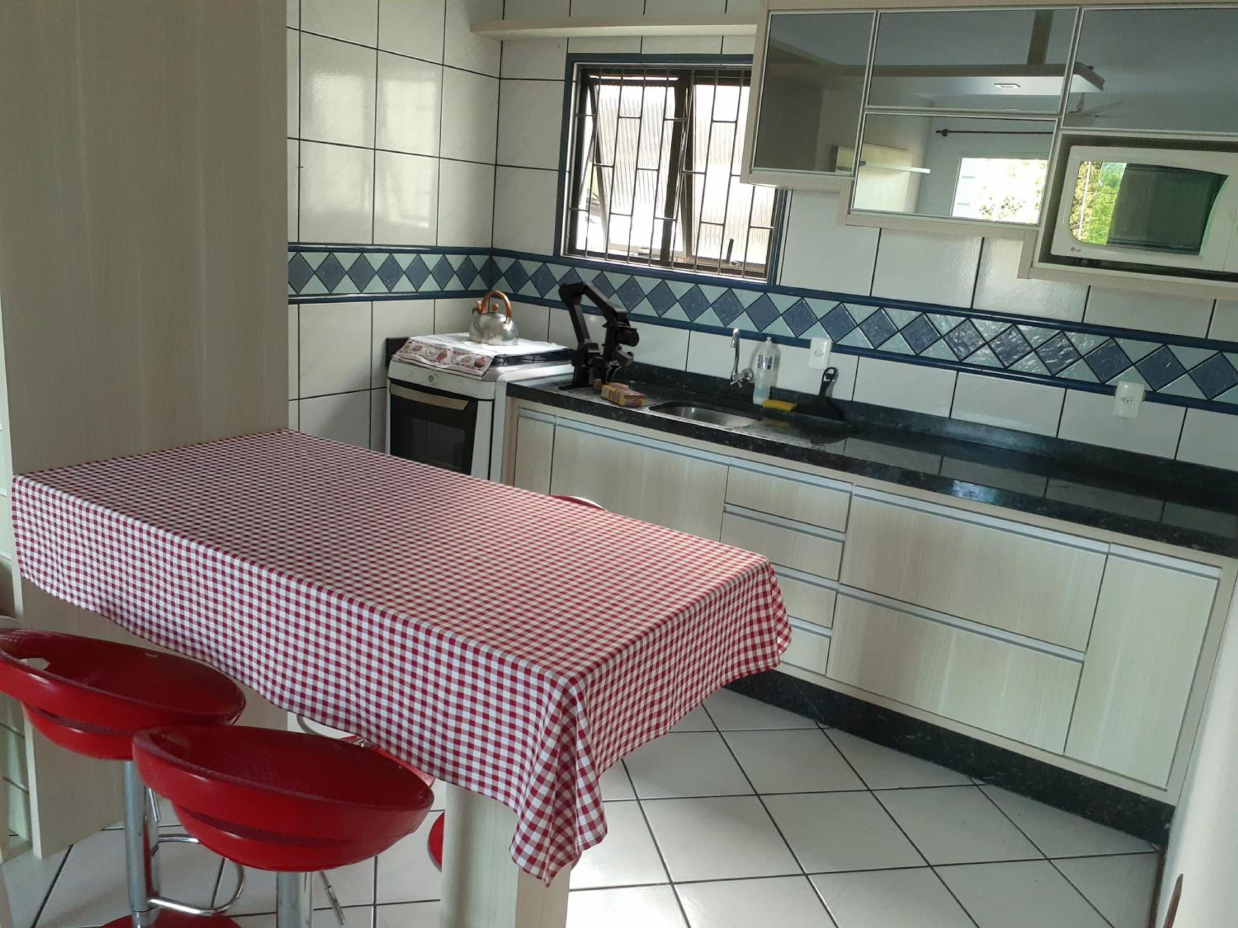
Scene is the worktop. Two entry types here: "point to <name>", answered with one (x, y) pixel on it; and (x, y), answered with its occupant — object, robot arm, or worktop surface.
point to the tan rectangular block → (606, 384)
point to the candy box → (623, 395)
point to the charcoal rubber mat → (647, 403)
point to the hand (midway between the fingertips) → (606, 384)
